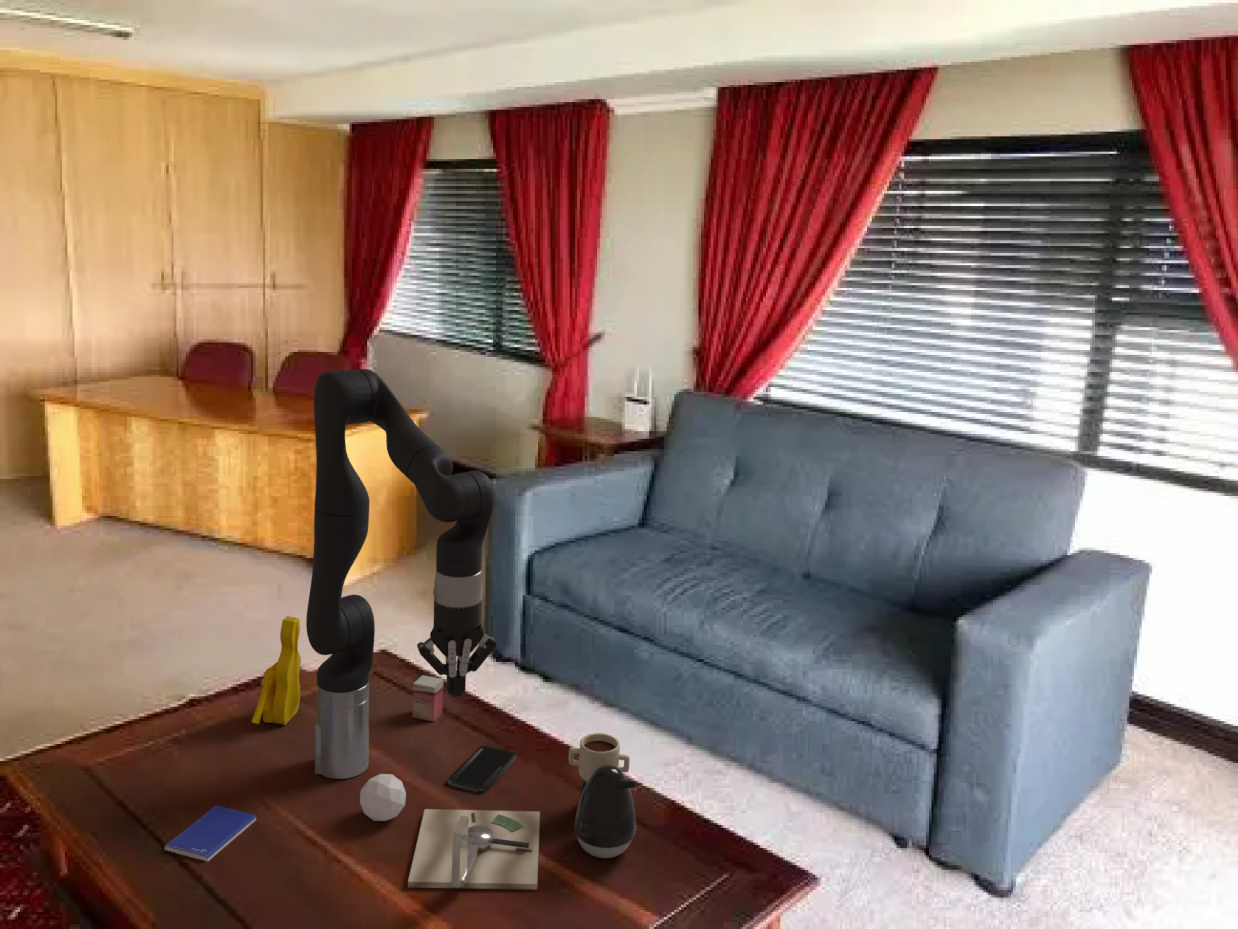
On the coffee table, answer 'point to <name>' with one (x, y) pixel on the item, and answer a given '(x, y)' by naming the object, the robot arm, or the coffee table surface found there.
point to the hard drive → (211, 833)
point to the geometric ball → (383, 797)
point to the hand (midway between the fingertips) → (455, 694)
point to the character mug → (597, 755)
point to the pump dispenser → (606, 813)
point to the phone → (482, 769)
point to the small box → (427, 698)
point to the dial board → (492, 864)
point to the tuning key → (472, 848)
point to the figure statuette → (282, 679)
